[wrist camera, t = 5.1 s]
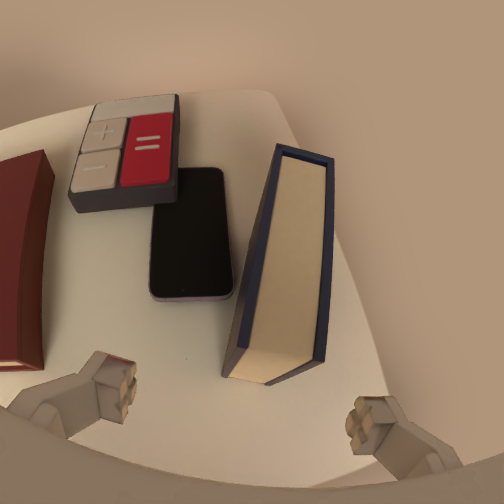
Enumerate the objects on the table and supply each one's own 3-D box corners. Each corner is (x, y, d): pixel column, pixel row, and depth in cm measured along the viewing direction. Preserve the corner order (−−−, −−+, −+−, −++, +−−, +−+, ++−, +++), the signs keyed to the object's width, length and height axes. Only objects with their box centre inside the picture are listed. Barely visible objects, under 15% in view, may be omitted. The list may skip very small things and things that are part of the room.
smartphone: (223, 167, 33) (236, 296, 25) (223, 174, 34) (235, 301, 26) (157, 168, 32) (147, 299, 24) (157, 175, 32) (149, 304, 25)
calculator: (63, 193, 25) (93, 99, 31) (78, 217, 29) (100, 123, 35) (174, 181, 26) (178, 88, 33) (178, 208, 30) (180, 114, 37)
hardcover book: (290, 247, 30) (334, 158, 20) (270, 386, 23) (324, 362, 13) (250, 238, 30) (276, 142, 19) (221, 376, 23) (236, 346, 13)
